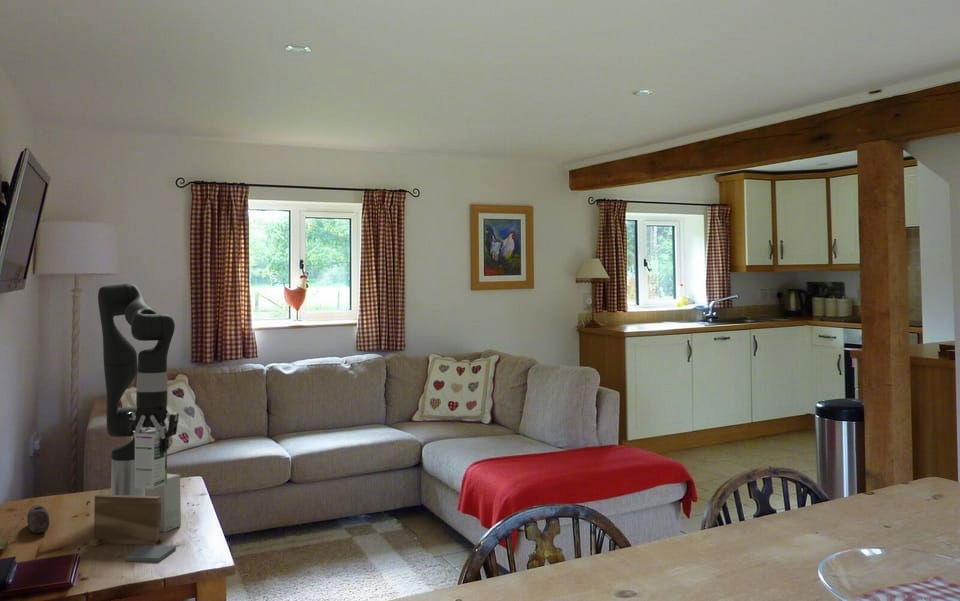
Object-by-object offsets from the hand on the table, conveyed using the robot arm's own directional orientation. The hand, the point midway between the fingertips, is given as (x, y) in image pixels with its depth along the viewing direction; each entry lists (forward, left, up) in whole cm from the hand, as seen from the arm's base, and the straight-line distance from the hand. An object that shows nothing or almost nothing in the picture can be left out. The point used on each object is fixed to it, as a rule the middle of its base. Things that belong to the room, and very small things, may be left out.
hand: (151, 451), depth 188 cm
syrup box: (0, 0, -9) cm, 9 cm away
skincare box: (-22, -8, -28) cm, 37 cm away
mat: (0, 0, -28) cm, 28 cm away
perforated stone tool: (-17, -43, -28) cm, 54 cm away
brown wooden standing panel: (-9, -11, -28) cm, 31 cm away
